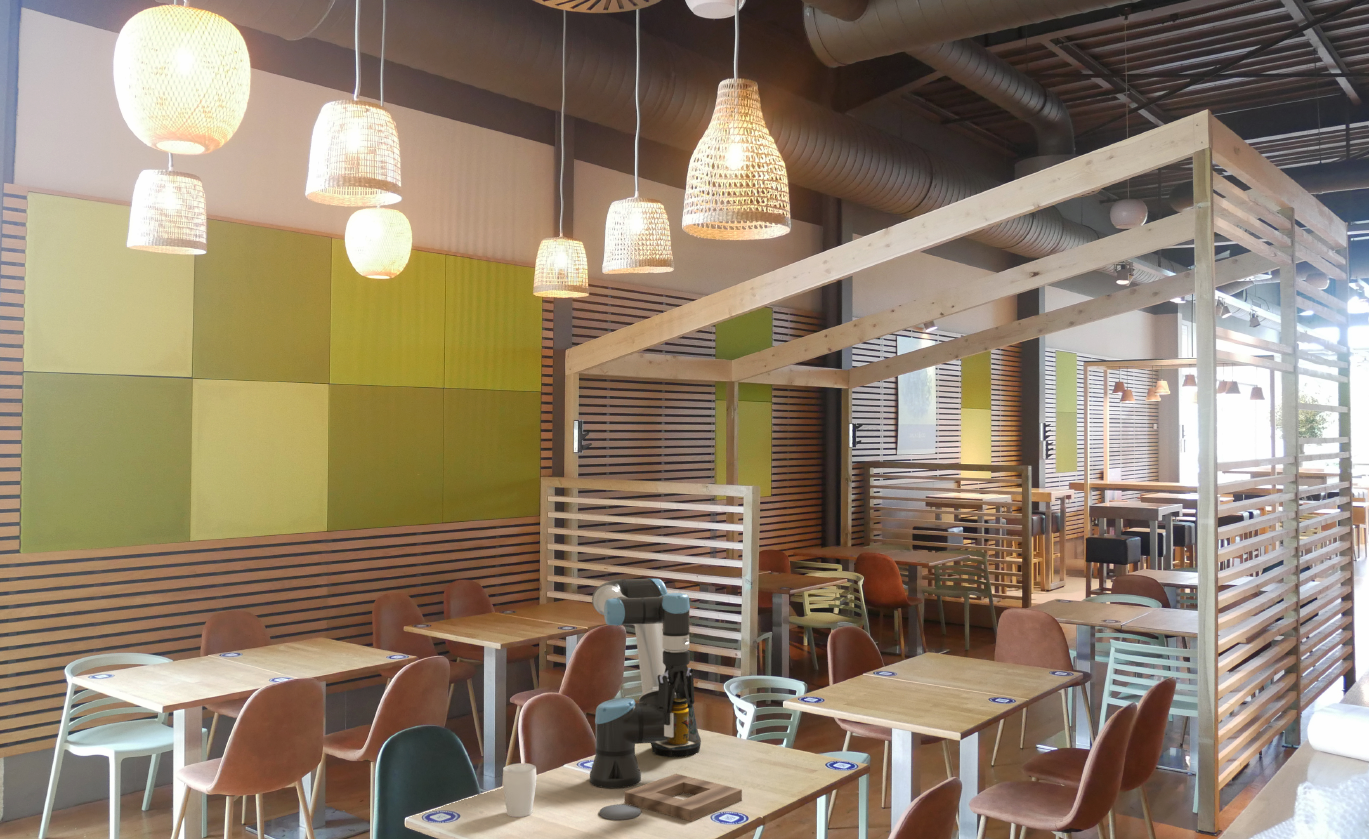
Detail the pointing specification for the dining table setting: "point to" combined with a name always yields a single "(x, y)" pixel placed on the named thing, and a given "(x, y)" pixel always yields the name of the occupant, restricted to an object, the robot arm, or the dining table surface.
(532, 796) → the cup
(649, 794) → the holder board
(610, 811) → the coaster
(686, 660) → the robot arm
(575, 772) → the dining table surface
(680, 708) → the condiment
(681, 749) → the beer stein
